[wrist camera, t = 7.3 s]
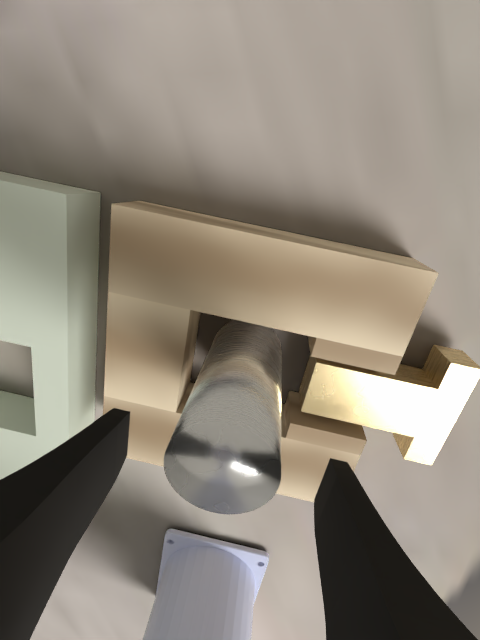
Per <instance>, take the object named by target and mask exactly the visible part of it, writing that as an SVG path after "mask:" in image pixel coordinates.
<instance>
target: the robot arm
mask: <svg viewBox="0 0 480 640" xmlns="http://www.w3.org/2000/svg"><path fill="white" fill-rule="evenodd" d="M129 424H130V411H125V410H121V409H117V408H113V409H111V410H110V411H108V412H107V413H106V414H104V415H103V416H101V417H100V418H99V419H97V420H96V421H94V422H93V423H92V424H90V425H89V426H87V427H86V428H85V429H83V430H82V431H80V432H79V433H77V434H76V435H74V436H73V437H71V438H70V439H68V440H67V441H66V442H64V443H63V444H61V445H59V446H58V447H56V448H55V449H53V450H52V451H50V452H48V453H47V454H45V455H43V456H42V457H40V458H39V459H37V460H35V461H34V462H32V463H30V464H28V465H27V466H25V467H23V468H21V469H19V470H18V471H16V472H14V473H12V474H10V475H8V476H6V477H4V478H3V479H1V480H0V640H30V638H31V635H32V633H33V631H34V629H35V627H36V625H37V623H38V621H39V619H40V617H41V614H42V612H43V610H44V608H45V606H46V604H47V602H48V600H49V598H50V596H51V594H52V592H53V590H54V588H55V586H56V584H57V582H58V580H59V578H60V576H61V574H62V572H63V570H64V568H65V566H66V564H67V562H68V560H69V558H70V556H71V554H72V552H73V551H74V549H75V547H76V545H77V544H78V542H79V540H80V539H81V537H82V535H83V534H84V532H85V531H86V529H87V527H88V526H89V524H90V522H91V521H92V519H93V517H94V516H95V514H96V512H97V511H98V509H99V508H100V506H101V504H102V503H103V501H104V499H105V498H106V496H107V494H108V493H109V491H110V489H111V488H112V486H113V484H114V482H115V480H116V478H117V476H118V474H119V472H120V470H121V468H122V465H123V463H124V461H125V459H126V457H127V451H128V438H129ZM314 524H315V538H316V546H317V554H318V562H319V570H320V578H321V586H322V594H323V601H324V611H325V621H326V640H478V639H477V638H476V637H475V636H474V635H473V634H472V633H471V632H470V631H469V630H468V629H467V628H466V627H465V625H464V624H463V623H462V622H461V621H460V620H459V619H458V618H457V616H456V615H455V614H454V613H453V612H452V611H451V610H450V609H449V607H448V606H447V605H446V604H445V603H444V602H443V600H442V599H441V598H440V597H439V596H438V595H437V593H436V592H435V591H434V590H433V589H432V587H431V586H430V585H429V584H428V582H427V581H426V580H425V578H424V577H423V576H422V575H421V573H420V572H419V571H418V570H417V568H416V567H415V566H414V564H413V563H412V562H411V560H410V559H409V558H408V556H407V555H406V554H405V552H404V551H403V549H402V548H401V547H400V545H399V544H398V542H397V541H396V539H395V538H394V537H393V535H392V534H391V532H390V531H389V529H388V528H387V526H386V525H385V523H384V521H383V520H382V518H381V517H380V515H379V514H378V512H377V510H376V509H375V507H374V506H373V504H372V502H371V501H370V499H369V497H368V496H367V494H366V492H365V491H364V489H363V487H362V486H361V484H360V482H359V481H358V479H357V477H356V475H355V474H354V472H353V470H352V469H351V467H350V465H349V464H348V462H345V461H341V460H336V459H332V458H330V460H329V463H328V465H327V468H326V470H325V473H324V476H323V478H322V481H321V483H320V486H319V488H318V491H317V494H316V496H315V499H314ZM268 562H269V554H268V553H267V552H265V551H262V550H258V549H254V548H250V547H246V546H242V545H238V544H234V543H230V542H225V541H221V540H217V539H213V538H209V537H205V536H201V535H197V534H193V533H188V532H184V531H180V530H176V529H168V530H167V531H166V534H165V538H164V544H163V551H162V558H161V564H160V571H159V577H158V584H157V590H156V597H155V601H154V604H153V608H152V611H151V614H150V617H149V621H148V624H147V627H146V630H145V634H144V637H143V640H251V633H252V619H253V605H254V602H255V599H256V597H257V594H258V591H259V588H260V585H261V582H262V579H263V576H264V573H265V571H266V568H267V565H268Z"/></svg>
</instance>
